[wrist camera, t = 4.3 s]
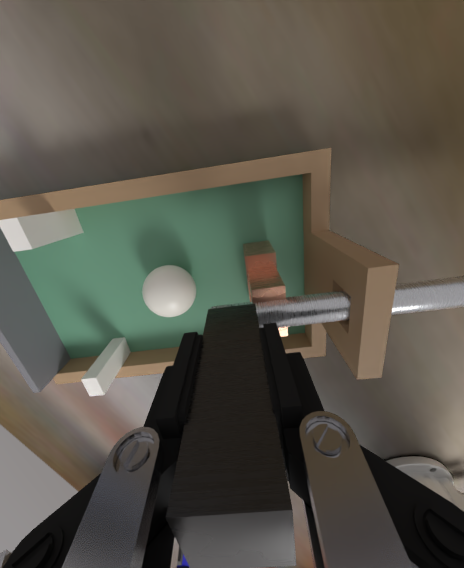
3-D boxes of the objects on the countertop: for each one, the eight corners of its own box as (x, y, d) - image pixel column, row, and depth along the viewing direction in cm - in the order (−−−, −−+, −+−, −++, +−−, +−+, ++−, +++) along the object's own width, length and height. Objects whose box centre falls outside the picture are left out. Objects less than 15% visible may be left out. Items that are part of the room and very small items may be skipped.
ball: (194, 255, 19) (184, 272, 15) (203, 298, 20) (196, 324, 17) (146, 261, 19) (125, 280, 15) (159, 304, 20) (143, 330, 17)
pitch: (315, 153, 17) (422, 113, 7) (314, 335, 23) (371, 441, 13) (-6, 204, 18) (-266, 225, 9) (76, 361, 24) (-23, 473, 15)
